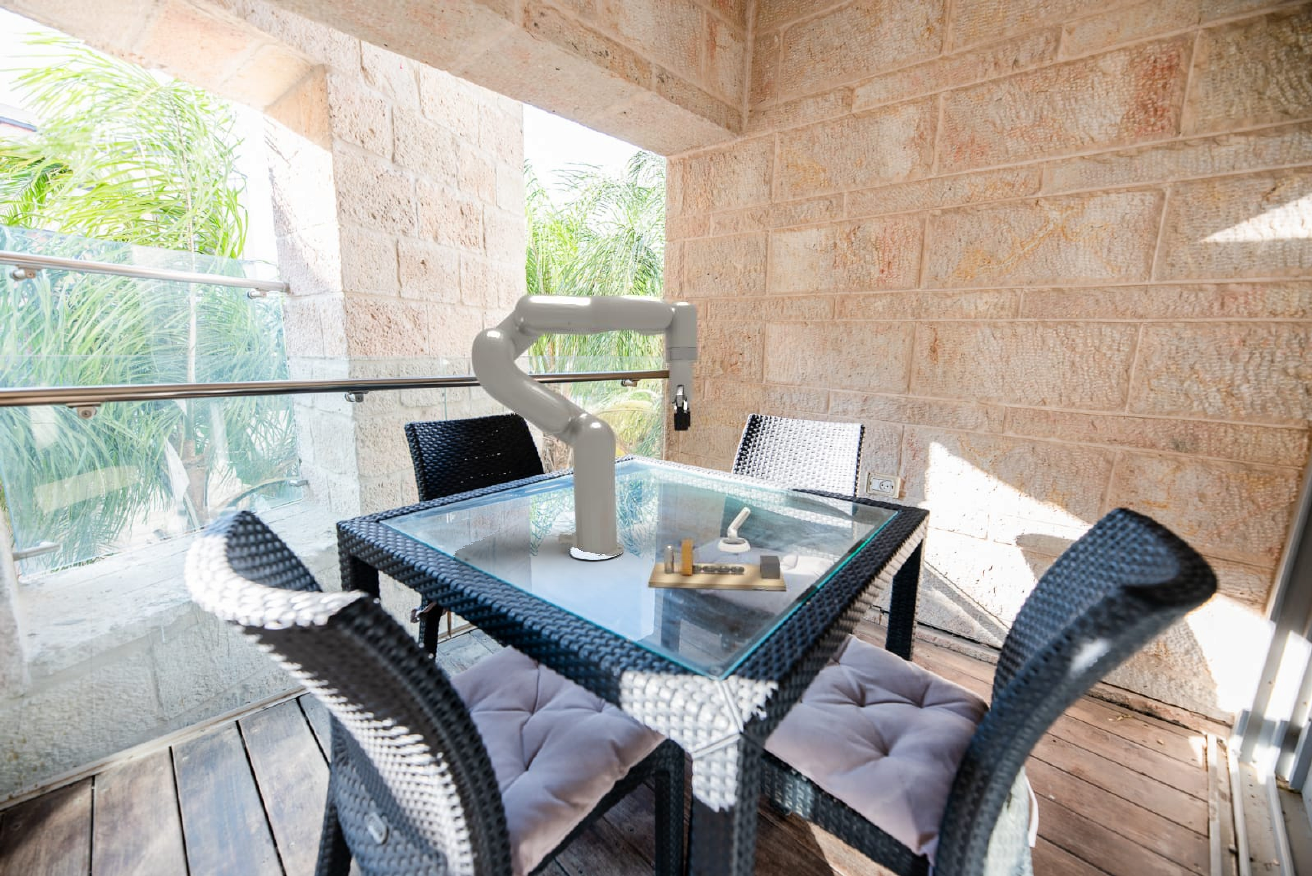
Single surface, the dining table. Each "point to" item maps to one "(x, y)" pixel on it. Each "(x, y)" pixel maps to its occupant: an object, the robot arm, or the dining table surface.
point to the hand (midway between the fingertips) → (682, 428)
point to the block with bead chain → (689, 567)
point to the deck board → (714, 578)
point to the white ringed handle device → (735, 535)
